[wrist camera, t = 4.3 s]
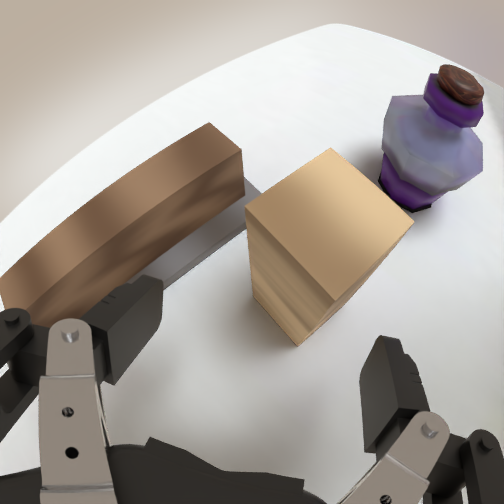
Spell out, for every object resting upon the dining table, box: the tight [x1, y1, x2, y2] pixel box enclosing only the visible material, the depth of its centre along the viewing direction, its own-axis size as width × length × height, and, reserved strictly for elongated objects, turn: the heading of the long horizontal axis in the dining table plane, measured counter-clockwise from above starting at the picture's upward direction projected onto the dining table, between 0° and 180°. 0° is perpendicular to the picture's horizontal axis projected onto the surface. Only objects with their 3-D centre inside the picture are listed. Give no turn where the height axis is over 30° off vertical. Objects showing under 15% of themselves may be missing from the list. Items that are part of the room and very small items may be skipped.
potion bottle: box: [378, 64, 484, 213], centre depth 19 cm, size 9×9×12 cm
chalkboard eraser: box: [0, 123, 261, 328], centre depth 20 cm, size 20×7×6 cm, turn 129°
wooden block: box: [244, 148, 414, 346], centre depth 16 cm, size 4×4×11 cm
